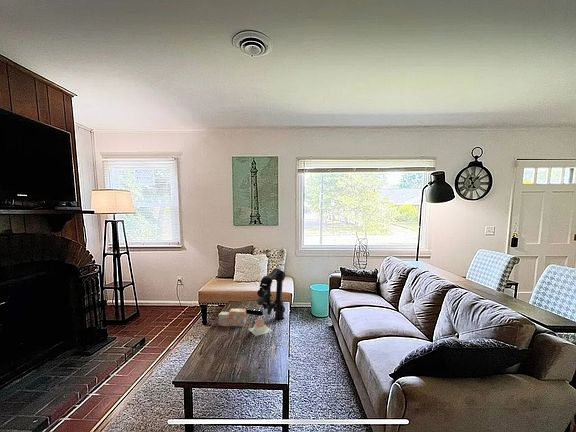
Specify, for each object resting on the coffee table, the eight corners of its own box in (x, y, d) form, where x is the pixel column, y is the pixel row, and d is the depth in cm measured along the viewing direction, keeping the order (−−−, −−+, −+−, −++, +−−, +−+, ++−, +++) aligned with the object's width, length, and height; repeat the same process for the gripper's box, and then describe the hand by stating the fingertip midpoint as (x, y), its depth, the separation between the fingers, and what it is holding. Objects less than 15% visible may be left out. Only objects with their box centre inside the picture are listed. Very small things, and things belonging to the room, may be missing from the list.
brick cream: (262, 327, 214) (262, 322, 214) (266, 330, 208) (266, 325, 208) (254, 329, 210) (253, 324, 210) (257, 332, 204) (257, 328, 204)
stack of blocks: (218, 325, 219) (218, 310, 219) (221, 322, 225) (221, 307, 225) (244, 327, 216) (243, 311, 216) (246, 324, 222) (246, 308, 222)
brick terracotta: (261, 323, 213) (261, 318, 212) (264, 325, 208) (264, 320, 208) (255, 324, 210) (255, 319, 210) (258, 327, 206) (258, 322, 206)
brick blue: (268, 313, 214) (268, 308, 214) (271, 315, 210) (271, 310, 210) (262, 314, 211) (262, 309, 211) (265, 316, 207) (265, 311, 207)
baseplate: (264, 325, 219) (264, 324, 219) (272, 331, 207) (272, 330, 207) (247, 329, 211) (247, 328, 211) (255, 336, 200) (255, 335, 199)
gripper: (252, 292, 214) (252, 312, 214) (263, 298, 198) (263, 319, 198) (264, 290, 220) (264, 309, 220) (276, 295, 204) (276, 316, 204)
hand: (267, 313), depth 211 cm, fingers closed on brick blue, 5 cm apart
